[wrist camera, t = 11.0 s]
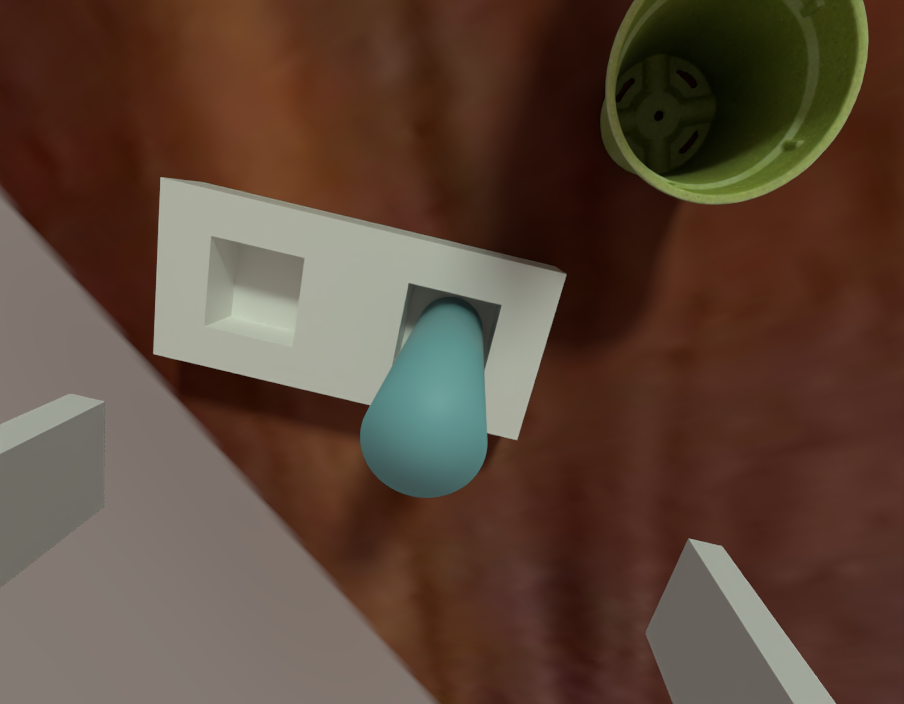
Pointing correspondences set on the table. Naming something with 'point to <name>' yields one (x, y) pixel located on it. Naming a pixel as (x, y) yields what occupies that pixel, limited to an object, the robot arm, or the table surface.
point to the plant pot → (731, 91)
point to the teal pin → (431, 406)
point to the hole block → (334, 296)
